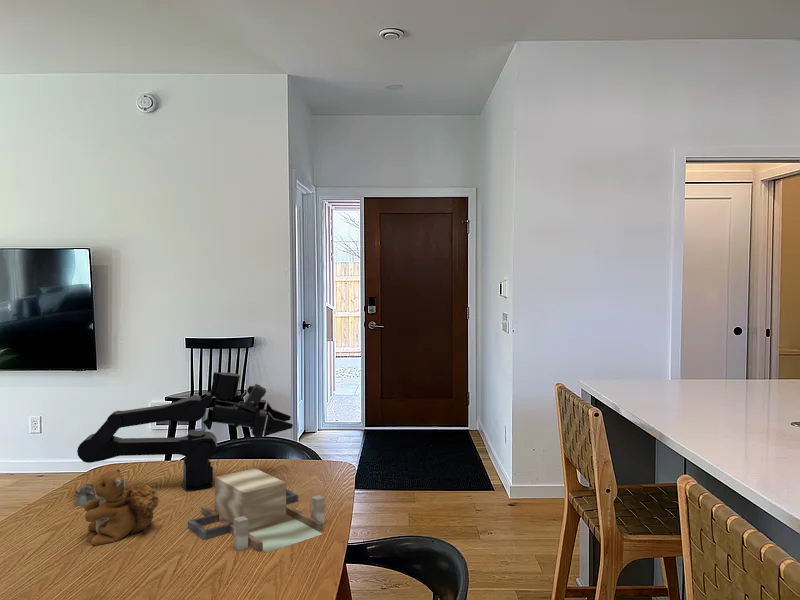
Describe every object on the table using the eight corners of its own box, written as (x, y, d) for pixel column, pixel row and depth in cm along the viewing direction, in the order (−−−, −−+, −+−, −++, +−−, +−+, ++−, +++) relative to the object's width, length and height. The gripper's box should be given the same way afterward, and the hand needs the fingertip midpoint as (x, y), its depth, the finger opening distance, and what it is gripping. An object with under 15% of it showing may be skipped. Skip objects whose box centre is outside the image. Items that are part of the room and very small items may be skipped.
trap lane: (176, 521, 124) (176, 494, 124) (280, 494, 141) (281, 470, 141) (234, 566, 104) (235, 533, 103) (348, 527, 121) (348, 499, 121)
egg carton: (72, 509, 132) (72, 491, 132) (79, 498, 139) (79, 481, 139) (123, 503, 135) (123, 486, 135) (127, 493, 142) (127, 476, 142)
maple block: (214, 512, 128) (214, 477, 128) (254, 501, 135) (255, 468, 135) (244, 531, 118) (244, 492, 118) (285, 518, 125) (286, 482, 125)
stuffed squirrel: (85, 529, 119) (85, 467, 119) (158, 518, 125) (158, 459, 125) (81, 548, 110) (81, 481, 110) (159, 536, 116) (160, 472, 116)
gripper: (237, 389, 141) (299, 399, 145) (239, 378, 159) (295, 386, 163) (228, 434, 140) (291, 442, 144) (231, 417, 159) (287, 425, 162)
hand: (291, 422), depth 153 cm, fingers open, 9 cm apart
